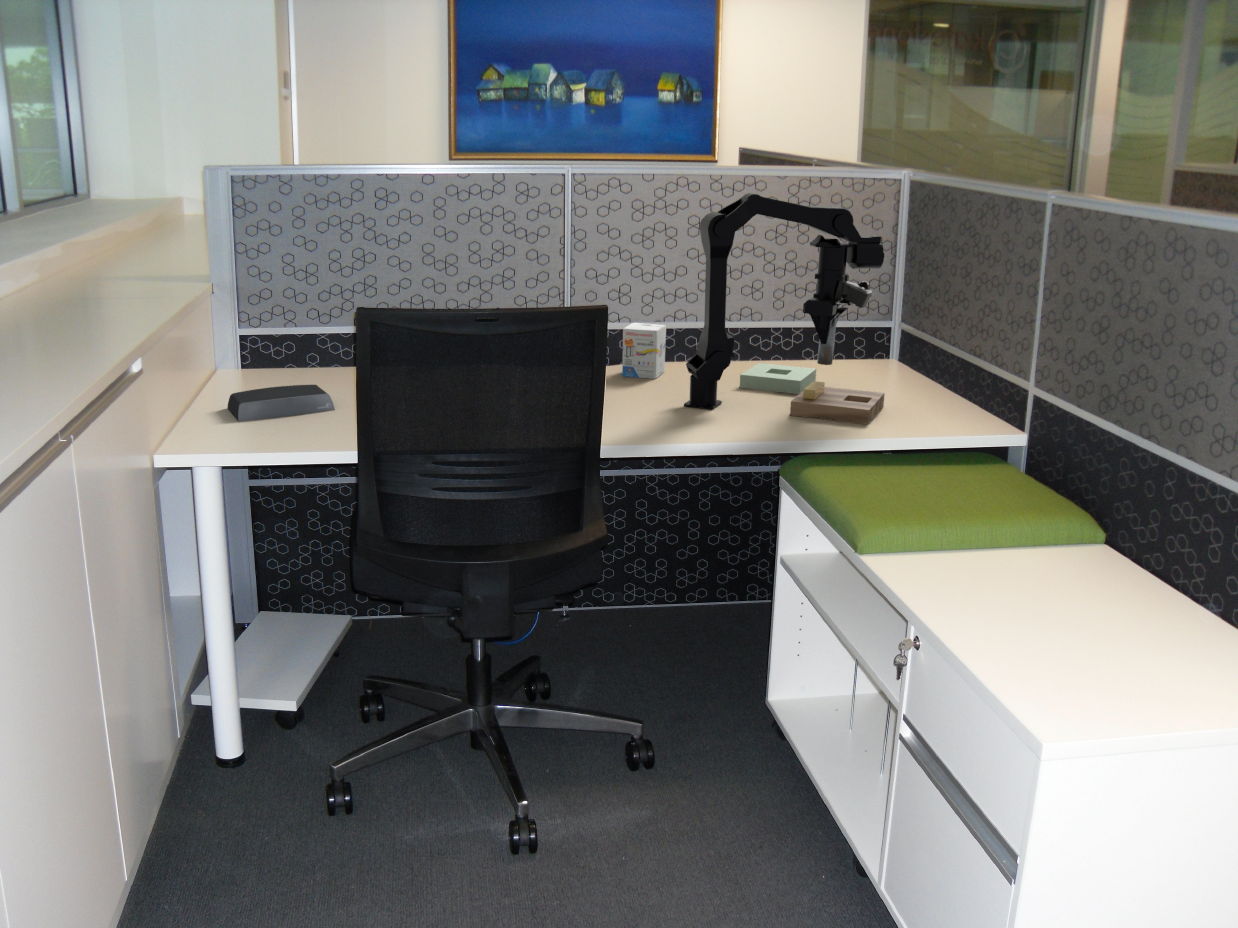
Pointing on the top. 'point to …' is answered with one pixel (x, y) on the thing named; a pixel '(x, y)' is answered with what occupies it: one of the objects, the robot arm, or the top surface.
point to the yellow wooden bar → (813, 390)
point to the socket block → (840, 405)
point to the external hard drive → (279, 402)
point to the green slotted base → (777, 378)
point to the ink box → (644, 350)
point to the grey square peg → (827, 347)
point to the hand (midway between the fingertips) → (826, 342)
